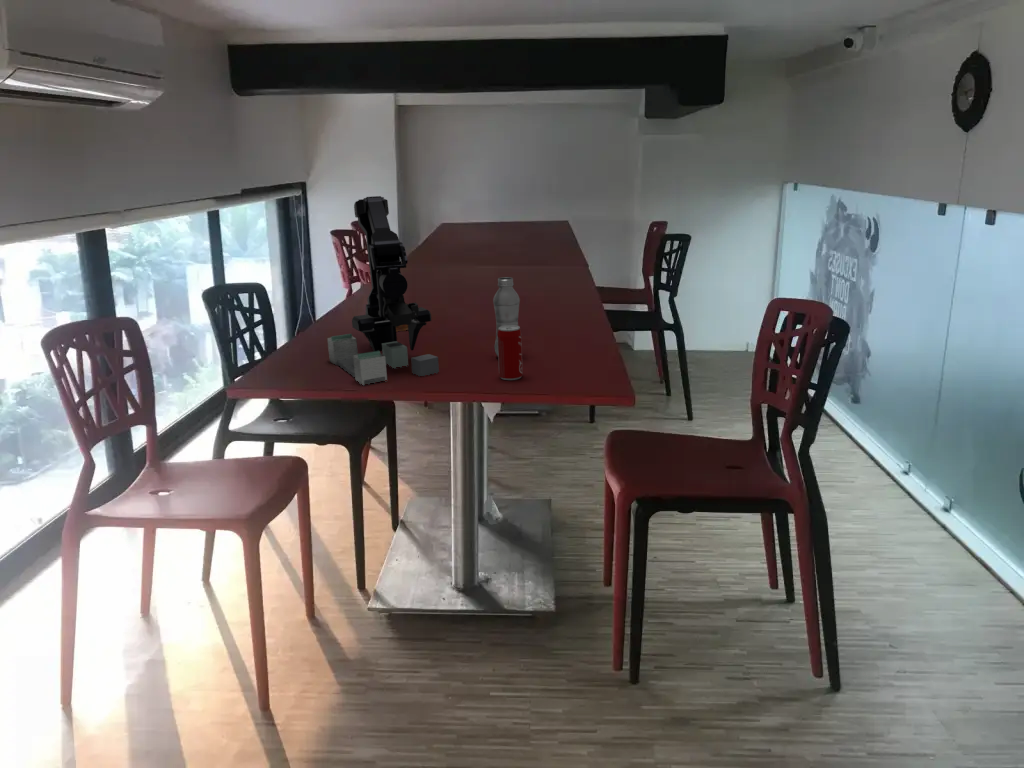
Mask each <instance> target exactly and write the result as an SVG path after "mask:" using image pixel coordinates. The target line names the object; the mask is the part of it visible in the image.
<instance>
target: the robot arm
mask: <svg viewBox="0 0 1024 768" xmlns="http://www.w3.org/2000/svg"><path fill="white" fill-rule="evenodd" d="M388 202H389V201H388V199H386V198H385V197H384V196H381V195H377V196H366V197H363V199H358V200H356V201H355V202H354V205H353V208H354V209H353V210H354V216H355V218H357V222H358V226H359V228H361V230H362V231H363V232H364V234H365V242H366V249H367V258H368V265H369V274H370V275H369V276H370V281H371V282H370V283H371V290H370V292H369V294H368V297H367V300H366V301H367V304H365V314H362V315H354V316H353V317H352V318H351V326H352V328H353V329H354V330H356V331H358V332H361V333H362V334H363V335H364V336H365V337H366V339H367V341H368V343H369V346H370V347H371V349H372V352H373V351H380V350H382V343H389V342H395V341H397V342H398V336H397V335H398V334H397V332H396V327H397V326H400V325H408V330H407V331H408V342H409V348H410V351H414V350H415V348H416V347H415V346H416V343H417V340H418V339H417V338H418V336H419V333H420V330H421V329H422V328H423V327H424V326H426V325H427V323H428V322H432V313H431V311H430V310H429V309H428V308H427V309H426V308H424V307H422V306H420V307H419V304H418V303H417V302H416V301H415V302H409V303H407V304H405V303H406V301H405V297H404V294H406V292H407V290H408V281H407V279H406V277H405V276H404V275H403V274H402V272H401V269H406V268H407V264H408V262H409V261H408V256H407V252H406V247H405V246H404V244H403V242H401V241H400V238H399V236H398V233H396V232H394V231H393V230H391V227H390V224H389V219H388V215H389V214H390V213H389V211H390V209H389V203H388Z"/></svg>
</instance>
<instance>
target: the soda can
mask: <svg viewBox="0 0 1024 768" xmlns="http://www.w3.org/2000/svg"><path fill="white" fill-rule="evenodd" d="M497 339H498V356H497V359H498V376H499V378H500V379H501V380H504V381H517V380H520V379H521V378H522V377H523V375H524V374H523V373H524V372H523V345H522V343H523V342H522V330H521V327H520V325H518V326H515V325H506V326H501V327H499V328H498V333H497Z"/></svg>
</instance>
